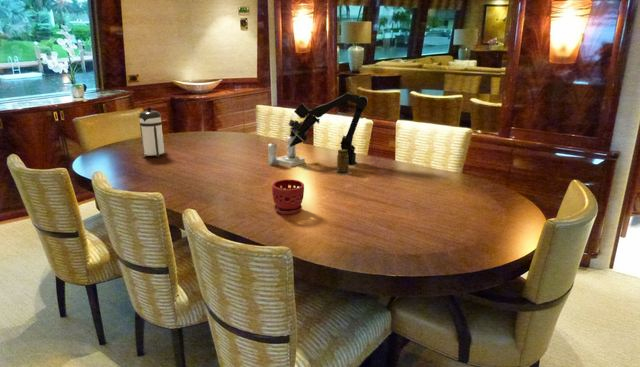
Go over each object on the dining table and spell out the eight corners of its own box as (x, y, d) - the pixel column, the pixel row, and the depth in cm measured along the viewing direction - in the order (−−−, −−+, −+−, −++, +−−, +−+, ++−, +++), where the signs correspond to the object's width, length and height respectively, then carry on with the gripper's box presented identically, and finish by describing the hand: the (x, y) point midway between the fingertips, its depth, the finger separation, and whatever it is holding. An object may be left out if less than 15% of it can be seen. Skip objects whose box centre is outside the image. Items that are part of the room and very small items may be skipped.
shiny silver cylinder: (297, 157, 266) (296, 137, 262) (290, 159, 263) (289, 138, 260) (292, 156, 270) (292, 135, 266) (285, 157, 267) (285, 136, 263)
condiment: (346, 169, 255) (346, 148, 251) (352, 173, 247) (352, 151, 244) (333, 170, 253) (333, 149, 249) (339, 175, 245) (340, 152, 241)
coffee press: (172, 156, 283) (167, 107, 274) (145, 160, 275) (139, 109, 266) (163, 151, 297) (158, 103, 288) (137, 154, 289) (131, 105, 279)
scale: (304, 162, 269) (304, 156, 268) (290, 166, 260) (290, 161, 259) (287, 158, 277) (286, 153, 276) (272, 162, 269) (272, 157, 268)
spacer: (278, 164, 265) (278, 144, 261) (272, 166, 261) (272, 145, 258) (272, 163, 268) (272, 142, 264) (266, 165, 264) (266, 144, 261)
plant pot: (267, 214, 191) (266, 186, 188) (281, 204, 203) (280, 177, 199) (296, 218, 187) (296, 190, 183) (309, 207, 198) (308, 180, 195)
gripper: (293, 112, 269) (275, 132, 269) (301, 117, 252) (281, 138, 252) (306, 124, 273) (288, 144, 274) (315, 130, 256) (296, 151, 257)
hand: (288, 144), depth 264 cm, fingers open, 9 cm apart
